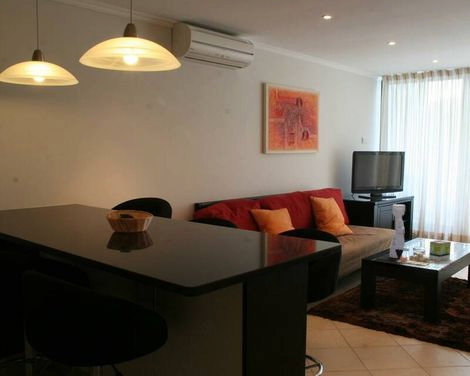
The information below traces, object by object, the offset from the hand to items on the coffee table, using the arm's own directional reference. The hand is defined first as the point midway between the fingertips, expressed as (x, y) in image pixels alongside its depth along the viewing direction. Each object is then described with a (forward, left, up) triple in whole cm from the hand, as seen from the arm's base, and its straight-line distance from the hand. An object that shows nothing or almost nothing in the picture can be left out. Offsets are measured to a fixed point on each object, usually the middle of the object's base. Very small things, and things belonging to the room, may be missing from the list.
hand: (399, 258), depth 378 cm
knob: (+4, 0, -1) cm, 4 cm away
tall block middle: (+12, +11, -2) cm, 17 cm away
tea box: (+21, +32, -2) cm, 38 cm away
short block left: (+7, +11, -2) cm, 13 cm away
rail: (+11, +1, -2) cm, 11 cm away
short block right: (+18, +11, -2) cm, 21 cm away
